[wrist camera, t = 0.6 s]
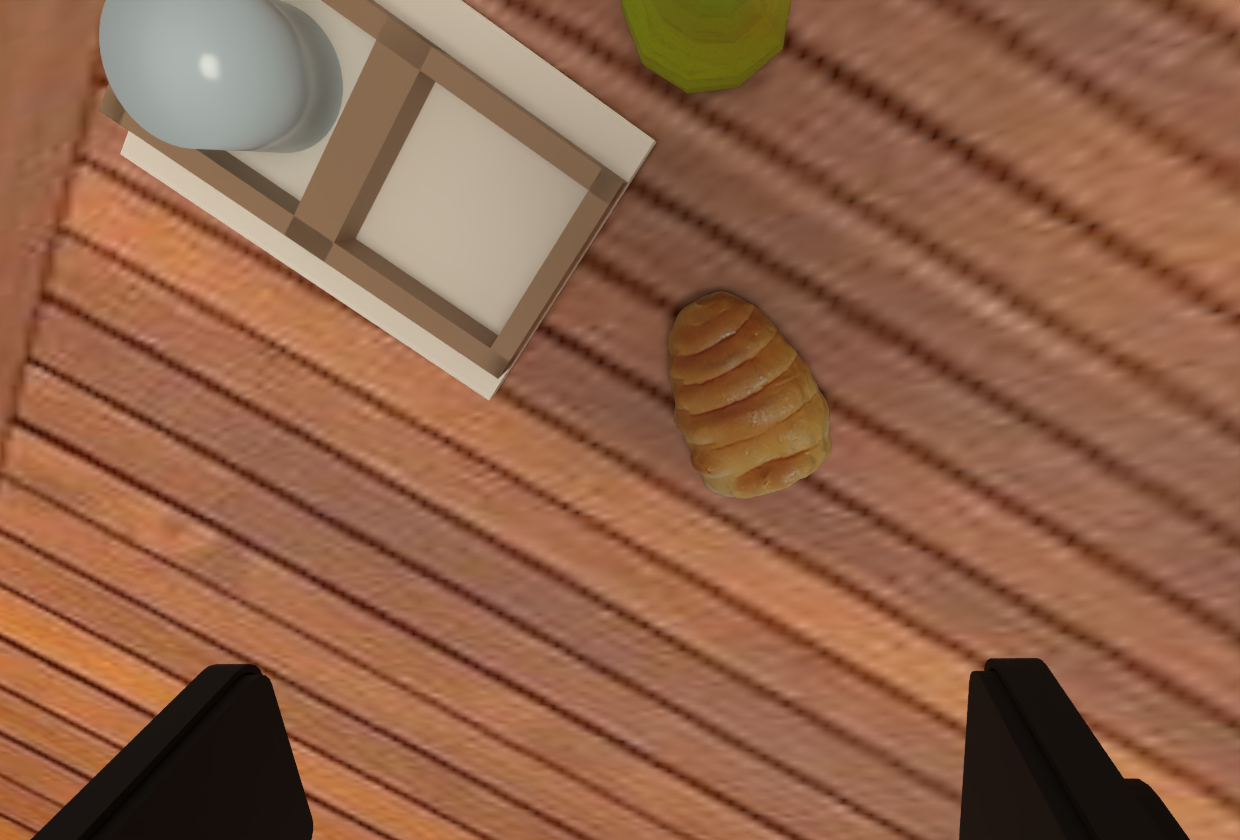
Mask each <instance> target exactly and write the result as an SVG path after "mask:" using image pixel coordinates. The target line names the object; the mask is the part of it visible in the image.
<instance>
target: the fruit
mask: <svg viewBox="0 0 1240 840" xmlns="http://www.w3.org/2000/svg"><path fill="white" fill-rule="evenodd" d="M790 5H791V0H622V5H621V8H622V11H623V14H624V16H625V19H626V22H627V24H628V27H629V30H630V32H631V35H632V38H633V41H634V43H635V46H636V49H637V51H638V54H639V57H640V59H641V62H642V63H643V64H644V66H645V67H647V68H648V69H650V70H651V71H653V72H655V73H656V74H658V75H659V76H661V77H662V78H664V79H666V80H667V81H669V82H670V83H672V84H673V85H675V86H677V87H678V88H680V89H681V90H683V91H684V92H686V93H688V94H689V93H698V92H706V91H714V90H722V89H730V88H738V87H739V86H740V85H741V84H743V83H744V82H745V81H746V80H747V79H748V78H750V77H751V76H752V75H753V74H754V73H755V72H757V71H758V70H759V69H760V68H761V67H762V66H763V65H765V64H766V63H767V62H768V61H769V60H770V59H772V58H773V57H774V56H775V55H776V54H777V53H779V52H780V51H781V50H783V44H784V39H785V33H786V27H787V22H788V16H789V10H790Z"/></svg>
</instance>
